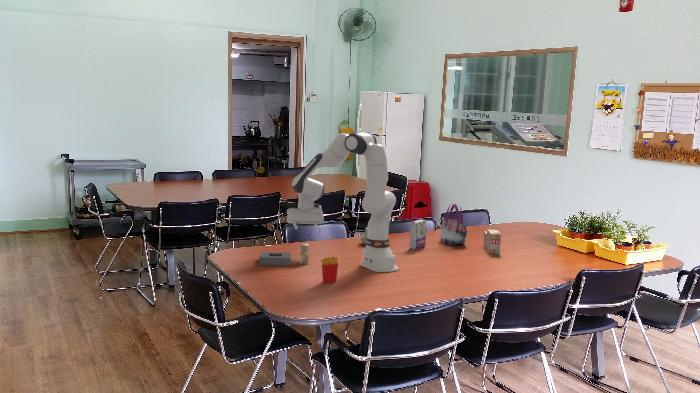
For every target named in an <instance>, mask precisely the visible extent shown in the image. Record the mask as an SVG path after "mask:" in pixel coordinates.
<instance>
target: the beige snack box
mask: <svg viewBox="0 0 700 393" xmlns="http://www.w3.org/2000/svg"><path fill="white" fill-rule="evenodd" d="M501 239H502V234H501V232H500V231H499V230H498V229H489V228H488V229H486V230H484V231H483V245H484V246H483V247H484V249H485V248H486V249H485V250H486V251H487V253H488V254H489V253H490V254H491V255H500V254H501V253H500V251H501V242H502V240H501Z"/></svg>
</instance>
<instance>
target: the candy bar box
mask: <svg viewBox="0 0 700 393" xmlns="http://www.w3.org/2000/svg"><path fill="white" fill-rule="evenodd" d="M409 225H410V229H409V249H410V248H412V249H411V250H415V249H417V250H420V249H422V247H423V248H425V247H426V239H427V238H426V237H427V236H426V235H427V220H424V219H417V220H414V221H410V224H409ZM419 248H420V249H419Z"/></svg>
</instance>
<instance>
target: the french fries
mask: <svg viewBox="0 0 700 393" xmlns="http://www.w3.org/2000/svg"><path fill="white" fill-rule="evenodd" d="M338 259H339V257H338V256H337V257H335V256H331V257H330V256H329V257H324V258H322V259H321V272H322V273H321V275H322V282H323V284H333V283H336V282H337V276H338V270H339V263H338Z"/></svg>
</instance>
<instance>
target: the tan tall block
mask: <svg viewBox="0 0 700 393" xmlns="http://www.w3.org/2000/svg"><path fill="white" fill-rule="evenodd" d="M309 247H310V244H309V243H300V244H299V264H300V265H302V264H303V265H309V255H310V254H309V252H310V248H309Z"/></svg>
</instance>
